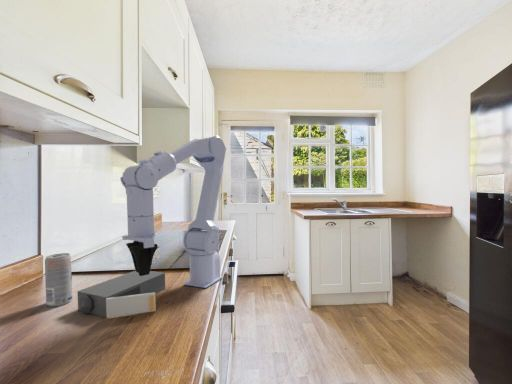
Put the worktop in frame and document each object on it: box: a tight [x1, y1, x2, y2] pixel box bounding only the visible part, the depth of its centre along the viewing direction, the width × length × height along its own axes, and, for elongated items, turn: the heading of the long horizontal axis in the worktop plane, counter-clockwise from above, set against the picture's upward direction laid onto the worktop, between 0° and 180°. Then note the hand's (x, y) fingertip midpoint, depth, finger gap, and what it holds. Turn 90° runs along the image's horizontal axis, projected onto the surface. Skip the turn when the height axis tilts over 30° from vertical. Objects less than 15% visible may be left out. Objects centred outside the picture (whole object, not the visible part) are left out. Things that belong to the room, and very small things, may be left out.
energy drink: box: [44, 252, 73, 308], centre depth 67 cm, size 5×5×12 cm
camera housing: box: [77, 270, 166, 319], centre depth 68 cm, size 19×10×4 cm, turn 156°
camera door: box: [106, 292, 157, 319], centre depth 59 cm, size 10×1×4 cm, turn 106°
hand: (142, 273), depth 63 cm, fingers open, 3 cm apart
